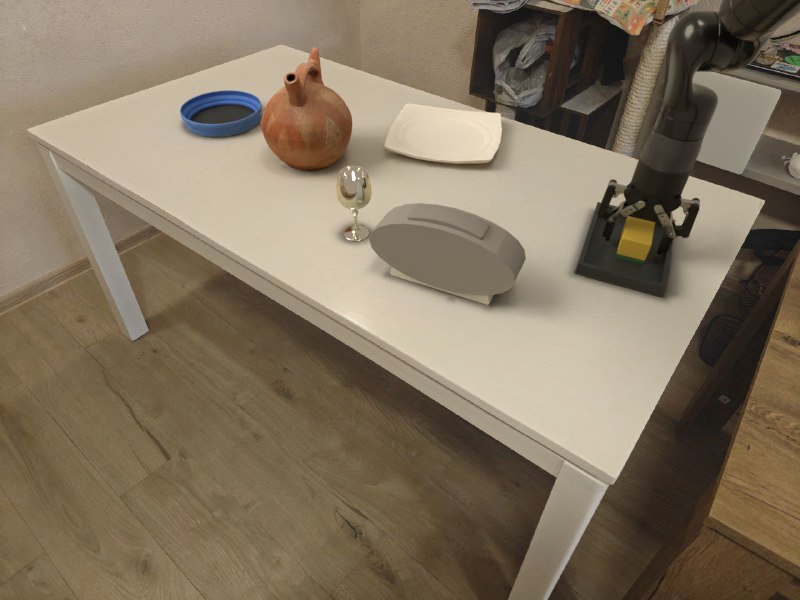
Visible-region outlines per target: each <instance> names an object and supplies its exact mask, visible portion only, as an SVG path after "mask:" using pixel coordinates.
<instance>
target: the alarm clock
mask: <svg viewBox="0 0 800 600" xmlns="http://www.w3.org/2000/svg"><path fill="white" fill-rule="evenodd" d="M368 240H369V244H370V247H371V249H372V250H373V251H374V252H375V255H377V257H378V258H380V259H381V260H382V261H383V262H385V263H386V264H387V265H388V266H389V267H390V270H389V275H391V276H393V277H396V278H399V279H403V280H406V281H409V282H413V283H415V284H419V285H423V286H426V287H429V288H431V289H435V290H438V291H441V292H445V293H448V294H450V295H454V296H458V297H461V298H464V299H467V300H470V301H473V302H477V303H480V304H484V305H487V306H489V305H490V304H491V301H492V299H493V297H494V295H501V294H503V293H505V292H507V291H510V290H511V289H512V288H513V286H514V284H515V283H516V281H517V279H518V276H519V274H520V272H521V270H522V268H523V266H524V264H525V262H526V251H525V250H526V249H525V248H524V247H523V245H522V244H521V242H520V241H519V240H518V239H517V238H516V237H515V236H514V235H513V234H511V233H510V232H509V231H508V230H506V229H505V228H503V227H502V226H499V225H498V224H496V223H495V222H493V221H491V220H489V219H486V218H484V217H482V216H480V215H478V214H475V213H472V212H469V211H465V210H462V209H459V208H456V207H451V206H446V205H441V204H434V203H424V202H418V203H405V204H402V205H399V206H396V207H395V206H394V207H393V208H391V210H390V211H388V212H387V213H386V214H385V215H384V216H383V218H382V219H381V220H380V222H379V223H378V224H377V225H376V226H375V228H374V229H373V230H372V231H371V232H370V234H369V238H368Z"/></svg>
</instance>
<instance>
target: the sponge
mask: <svg viewBox="0 0 800 600" xmlns="http://www.w3.org/2000/svg"><path fill="white" fill-rule="evenodd" d="M654 227H655V222H651V221H647V220H643V219H638V218H634V217H630V216H627V219H626V222H625V225H624V227H623V230H622V233H621V236H620V240H619V245H618V249H617V253H616V258H619V259H623V260H627V261H631V262H635V263H639V264H644V262H645V260H646V257H647V255H648V252H649V250H650V248H651V244H652V238H653V233H654Z"/></svg>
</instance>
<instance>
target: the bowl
mask: <svg viewBox="0 0 800 600" xmlns="http://www.w3.org/2000/svg"><path fill="white" fill-rule="evenodd" d="M262 109H263V105H262V101H261V99H260V98H259V97H258V96H257V95H255V94H253V93H251V92H246V91H241V90H235V89H234V90H233V89H232V90H230V89H226V90H215V91H209V92H204V93H201V94H198V95H196V96H193V97H191V98H190V99H187V100H186V101H185V102H184V103H182V104H181V106H180V109H179V113H180V118H181V119H182V122H184V124H185V126H186V128H187V129H188V130H189V131H190V132H192V133H193V134H195V135H199V136H202V137H211V138H223V137H230V136H235V135H241V134H243V133H246V132H247V131H250V130H251V129H253V128H255V127H256V126H257V125H258V124H259V123H260V122H261V120H262V112H263V111H262Z"/></svg>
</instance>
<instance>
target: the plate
mask: <svg viewBox="0 0 800 600" xmlns="http://www.w3.org/2000/svg"><path fill="white" fill-rule="evenodd" d="M388 130H389V131H388V133H387V135H386V139H385V143H384V147H383V148H384V149H385V150H387V151H388V152H391V153H394V154H397V155H402V156H405V157H409V158H412V159H416V160H421V161H422V160H423V161H429V162H435V163H444V164H454V165H463V164H466V165H467V164H487V163H490V162H492V160H493V159H494V157H495V155H496V154H497V153H498V150H499V147H500V144H501V142H502V134H503V133H502V132H503V129H502V114H501V113H499V112H487V111H477V110H476V111H475V110H473V111H472V110H464V109H456V108H455V109H454V108H446V107H445V108H444V107H436V106H429V105H424V104H423V105H422V104H416V103H411V102H409V103H408V102H407V103H405V105H404V106H403V107H402V109H401V111H400V112H399V113H398V114H397V116H396V117H395V119H394V121H393V123H392V124H391V126H390V128H389V129H388Z"/></svg>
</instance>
